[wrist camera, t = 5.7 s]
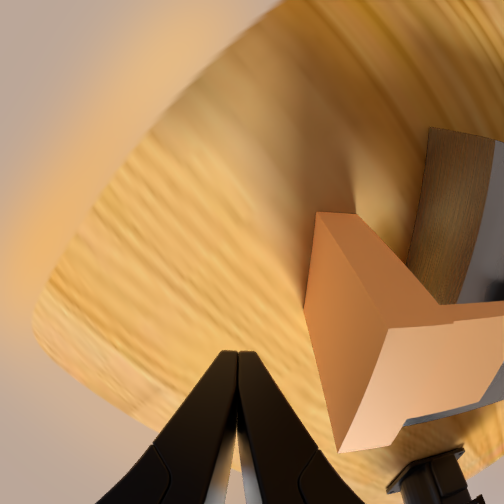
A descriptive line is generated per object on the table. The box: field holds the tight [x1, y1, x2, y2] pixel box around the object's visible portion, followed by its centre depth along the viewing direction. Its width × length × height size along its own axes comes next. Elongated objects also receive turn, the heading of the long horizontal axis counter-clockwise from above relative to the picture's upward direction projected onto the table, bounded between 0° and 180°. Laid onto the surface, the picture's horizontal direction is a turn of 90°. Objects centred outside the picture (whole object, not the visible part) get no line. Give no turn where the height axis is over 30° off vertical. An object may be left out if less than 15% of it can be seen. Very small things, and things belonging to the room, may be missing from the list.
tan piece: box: [304, 212, 504, 453], centre depth 10 cm, size 4×5×7 cm
